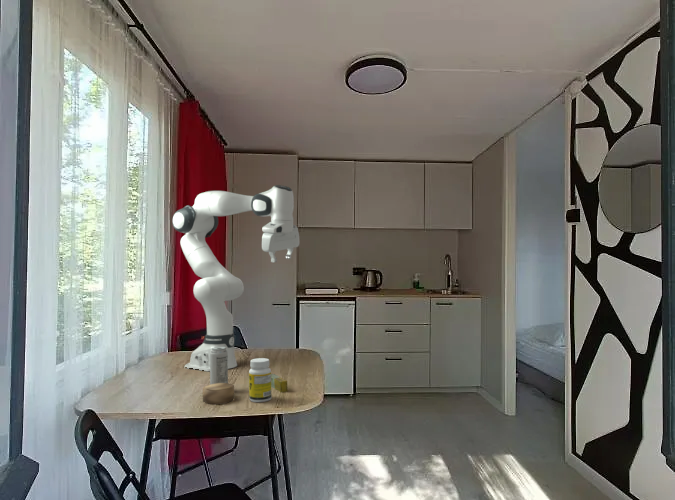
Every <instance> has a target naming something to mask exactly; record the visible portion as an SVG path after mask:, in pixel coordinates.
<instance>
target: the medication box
mask: <svg viewBox="0 0 675 500" xmlns="http://www.w3.org/2000/svg"><path fill="white" fill-rule="evenodd" d="M271 388H273V389H274V390H276V391H278V392H280V393H286V392H288V391H289V390H288V380H286V379H284V378H282V377H280V376H279V375H277V374H275V373H271Z"/></svg>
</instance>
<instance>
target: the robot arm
mask: <svg viewBox="0 0 675 500" xmlns="http://www.w3.org/2000/svg"><path fill="white" fill-rule="evenodd" d="M294 197H295V196H294V191H293V189H292V188H290V187H289V186H286V185H282V184H281V185H280V184H276V185H273V186H272V187H271V188H270V189H268V190H266V191H263V192H259V193H256V194H255V195H245V194H240V193H235V192H230V191H225V190H208V191H205V192H201V193H199V194H197V195H196V197H195V199H194V204H193V205H192V206H191V205H189V204H188V205H185V206H184V207H183V208H180V209H178V210H177V211H175V213H174V214H173V215H172V218H171V219H172V220H171V221H172V223H171V224H172V227H173V229H175V231H177V232H179V233H183V234H184V235H183V236H182V237H181V238H180V242H179V243H180V248H181V250H182V252H183V255H184V257H185V260H187V262H188V264H189V266H190V267H191V269H192V271H193V272H194V274H195V275H196V276H197V277H200V278H201V279H198V280H197V281H196V282H195V284H194V285H193V290H192V291H193V296H194V298H195V299H196V301H198V302H199V303H200V304H201V307H202V308H203V311H204V314H205V318H206V334H205V335H204V336H202V335H201V340H203V342H202V344H200V345H199V346H198V347H197V348H196V349H194V350H193V351H192V352H191V354H190V359H189V360H190V361H189V362H187V363H186V364H185V365H184V368H185V367H187V368H186V369H189V368H193V369H192V370H195V369H199V370H198V371H202V370H204V371H203V372H210V352H211V350H212V348H214V347H226V350H227V352H228V370H229V369H233V368H236V367H238V363H237V362H238V361H237V357H236V353H235V333H234V316H233V314H232V313H231V312H230V311H229V310H228V308H227V305H226V302H228V301H233V300H236V299H238V298H240V297H241V296H242V295H243V293H244V291H245V287H244V282H243V281H242V279H240V278H239V277H237V276H235V275H234V274H232V273H231V272H230V271H229V270H227V268H226V267H225V266H223V265H222V264H221V263H220V262H219V260H218V259H217V257H216V256H215V255H214V253H213V251H212V249H211V248H210V246H209V244H208V243H207V242H206V238H210V237H211V236H212V234H213V233H214V232H216V230H217V228H218V226H219V217H228V216H231V215H236V214H241V213H246V212H253V214H254V215H255V216H258V217H262V218H263V217H270V221H269V222H268V223H266V224H264V225H263V226H262V229H261V230H262V232H263V233H262V236H261V250H262V251H263V252H265V253H268V255H269V257H270V263H273V264H275V263H277V257H276V255H275V254H276V252H279V251H283V250H287V253H286V254H285V259H286V260H291V259H292V254H293V252H294V248H299V246H300V232H299V228H298V227H297V225H296V224H294V216H293V212H294V210H295V209H294V208H295V207H294V204H295V203H294V201H295V199H294Z"/></svg>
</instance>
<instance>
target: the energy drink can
mask: <svg viewBox="0 0 675 500" xmlns="http://www.w3.org/2000/svg"><path fill="white" fill-rule="evenodd" d="M228 373H229V369H228V352H227V350H226V347H214V348H212V350H211V352H210V371H209V385H211V384H216V383H228V384H229V374H228Z"/></svg>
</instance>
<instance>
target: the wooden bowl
mask: <svg viewBox="0 0 675 500" xmlns="http://www.w3.org/2000/svg"><path fill="white" fill-rule="evenodd" d="M234 400H235V385H234V384H233V383H229V382H228V383H216V384H211V385H210V384H208V385H205V386H203V387H202V402H203V403H204V402H205V403H204V404H207V403H208V405H219V404H220V405H221V404H227V403H229V402H232V401H234Z"/></svg>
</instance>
